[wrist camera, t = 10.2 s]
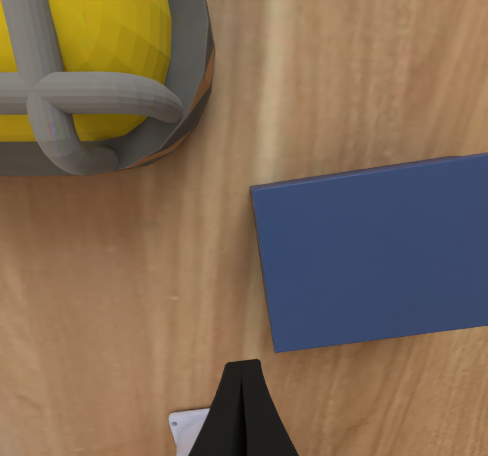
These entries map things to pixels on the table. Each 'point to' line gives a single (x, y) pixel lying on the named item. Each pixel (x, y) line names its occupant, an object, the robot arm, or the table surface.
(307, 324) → the lid
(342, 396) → the table surface
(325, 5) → the table surface
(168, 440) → the table surface
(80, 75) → the cage light
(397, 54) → the table surface
